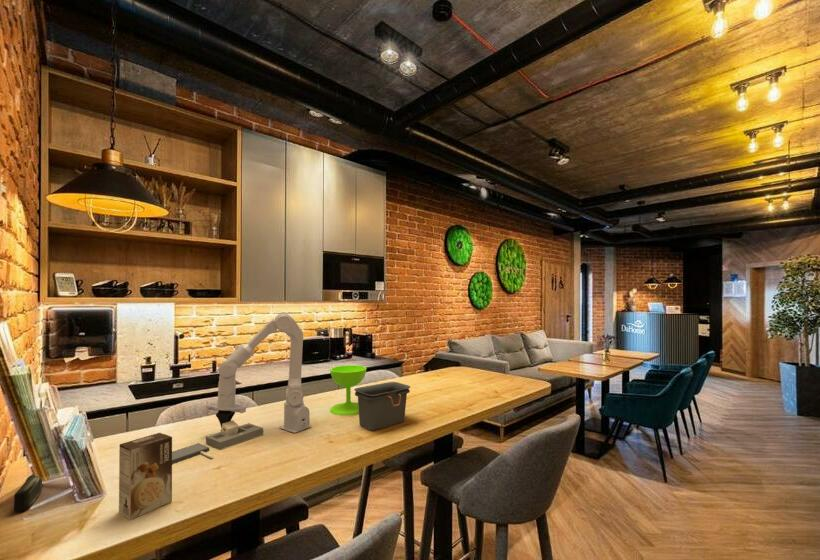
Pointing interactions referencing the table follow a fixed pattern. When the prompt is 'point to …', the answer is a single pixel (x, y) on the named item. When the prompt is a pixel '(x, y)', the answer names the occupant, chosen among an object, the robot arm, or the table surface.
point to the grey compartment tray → (234, 436)
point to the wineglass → (347, 387)
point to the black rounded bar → (27, 493)
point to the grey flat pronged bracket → (190, 452)
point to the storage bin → (381, 404)
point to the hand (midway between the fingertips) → (225, 431)
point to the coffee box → (145, 474)
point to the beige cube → (229, 428)
